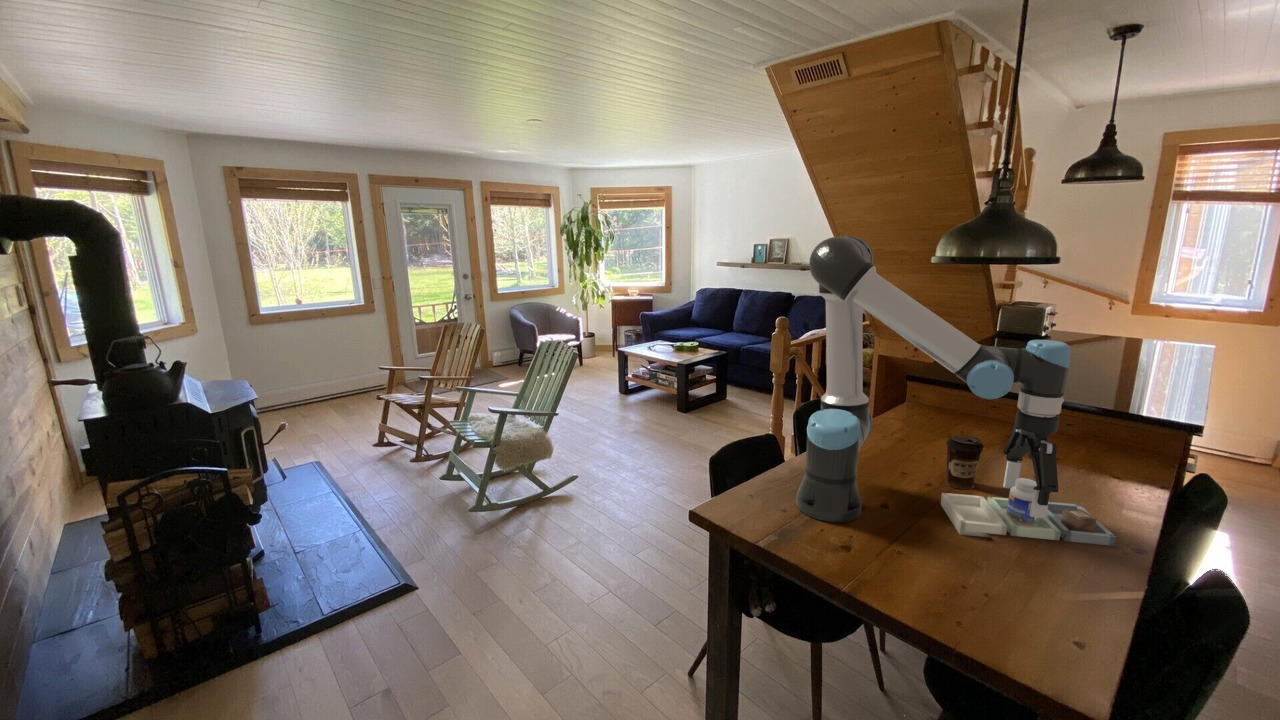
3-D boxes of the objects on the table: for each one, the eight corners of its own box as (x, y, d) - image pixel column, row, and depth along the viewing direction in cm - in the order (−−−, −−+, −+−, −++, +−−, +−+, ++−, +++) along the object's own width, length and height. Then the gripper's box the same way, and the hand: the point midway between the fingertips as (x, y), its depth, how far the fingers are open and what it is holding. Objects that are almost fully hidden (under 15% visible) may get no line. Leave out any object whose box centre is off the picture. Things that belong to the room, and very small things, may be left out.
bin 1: (959, 534, 117) (961, 522, 117) (940, 503, 131) (941, 492, 130) (1005, 539, 115) (1007, 526, 115) (981, 507, 129) (982, 496, 128)
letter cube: (1075, 536, 114) (1078, 518, 113) (1060, 526, 118) (1063, 509, 117) (1093, 535, 114) (1096, 518, 113) (1077, 525, 118) (1081, 509, 117)
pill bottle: (999, 517, 122) (1005, 478, 120) (1016, 513, 124) (1023, 474, 122) (1022, 529, 117) (1029, 488, 115) (1040, 524, 119) (1047, 485, 117)
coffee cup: (984, 494, 135) (991, 446, 132) (948, 491, 137) (954, 444, 134) (970, 478, 143) (977, 433, 140) (937, 476, 145) (942, 432, 142)
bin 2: (1064, 545, 113) (1066, 532, 112) (1033, 512, 126) (1035, 500, 125) (1113, 550, 111) (1116, 537, 110) (1077, 516, 124) (1079, 504, 123)
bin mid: (1010, 539, 115) (1012, 527, 114) (985, 508, 128) (987, 496, 128) (1058, 544, 113) (1060, 531, 112) (1028, 511, 126) (1030, 500, 126)
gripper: (1091, 433, 102) (1072, 532, 107) (1031, 396, 125) (1017, 478, 130) (1046, 431, 104) (1029, 528, 108) (995, 394, 127) (983, 475, 132)
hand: (1023, 501), depth 119 cm, fingers open, 13 cm apart
